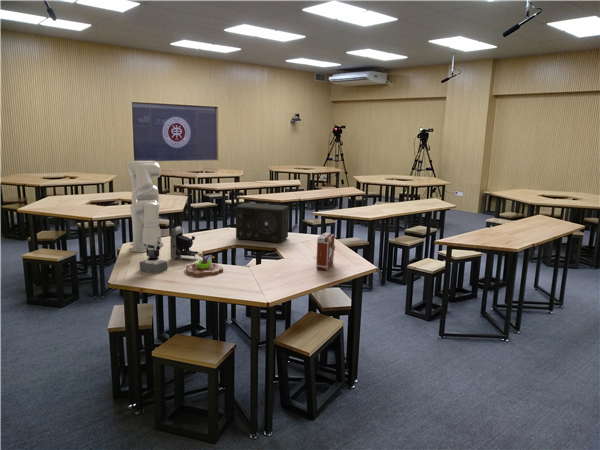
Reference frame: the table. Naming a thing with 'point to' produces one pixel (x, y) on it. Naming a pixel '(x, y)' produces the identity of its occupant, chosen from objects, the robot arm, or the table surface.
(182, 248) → the vintage camera
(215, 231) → the table surface
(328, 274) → the table surface
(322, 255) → the cine camera
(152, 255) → the lens
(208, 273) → the plant
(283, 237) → the vintage radio
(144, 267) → the grey hollow block
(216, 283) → the table surface
